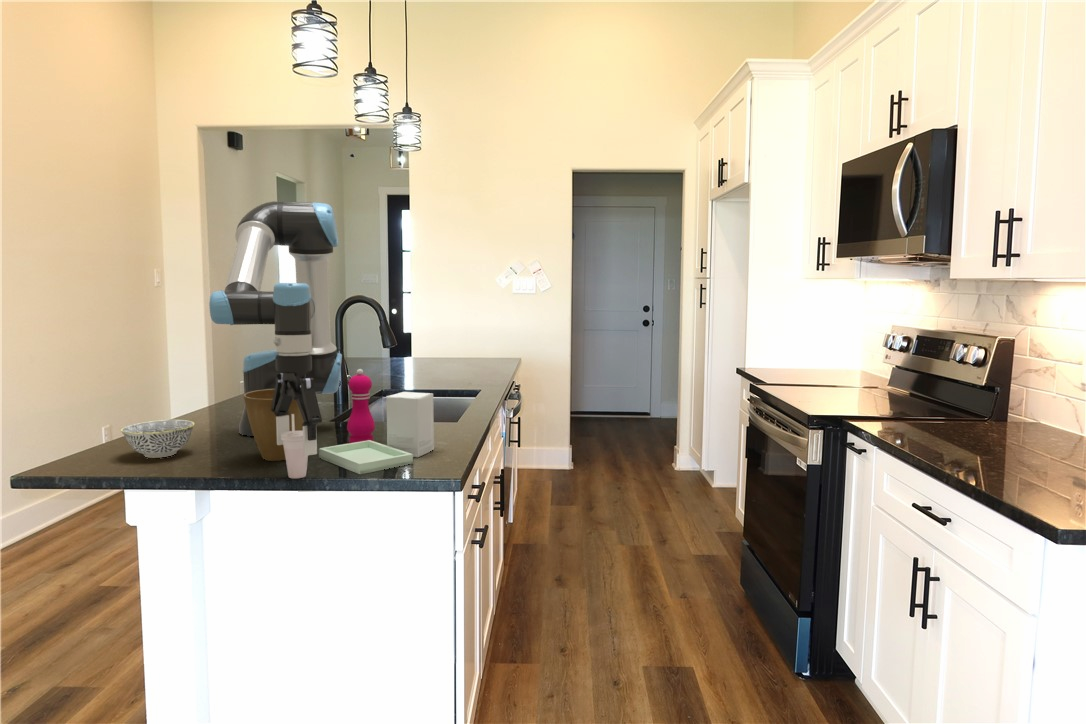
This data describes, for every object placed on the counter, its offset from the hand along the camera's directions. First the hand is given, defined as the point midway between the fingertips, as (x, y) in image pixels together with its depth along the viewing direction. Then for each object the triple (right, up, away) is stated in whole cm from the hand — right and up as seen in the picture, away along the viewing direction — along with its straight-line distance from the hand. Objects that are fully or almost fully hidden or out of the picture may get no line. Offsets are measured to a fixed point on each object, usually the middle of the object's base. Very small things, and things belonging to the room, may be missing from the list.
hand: (296, 449), depth 159 cm
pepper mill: (+6, -3, +34) cm, 34 cm away
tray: (+12, -5, +15) cm, 19 cm away
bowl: (-40, -4, +18) cm, 44 cm away
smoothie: (0, -6, +1) cm, 6 cm away
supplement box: (+21, -4, +23) cm, 32 cm away
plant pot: (-10, -4, +17) cm, 21 cm away
